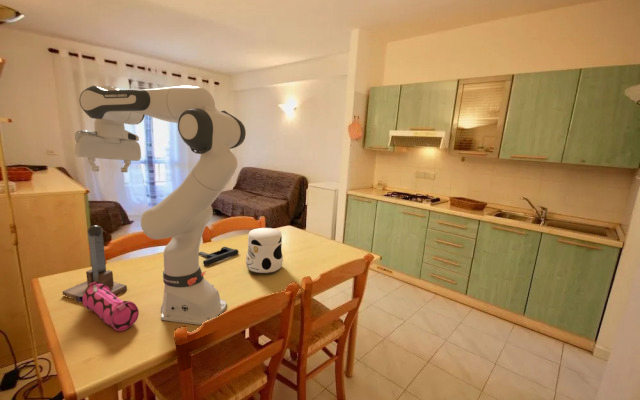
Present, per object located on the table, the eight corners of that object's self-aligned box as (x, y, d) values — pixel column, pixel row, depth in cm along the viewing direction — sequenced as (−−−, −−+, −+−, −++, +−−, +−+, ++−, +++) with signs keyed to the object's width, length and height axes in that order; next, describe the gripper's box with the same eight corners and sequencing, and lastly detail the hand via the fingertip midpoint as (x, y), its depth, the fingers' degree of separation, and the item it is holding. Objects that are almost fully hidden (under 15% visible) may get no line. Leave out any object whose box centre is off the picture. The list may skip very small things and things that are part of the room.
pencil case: (77, 314, 96) (74, 287, 94) (110, 301, 104) (107, 276, 102) (111, 339, 86) (108, 309, 84) (144, 322, 94) (142, 294, 92)
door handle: (187, 254, 143) (207, 261, 135) (221, 243, 160) (241, 249, 151) (188, 260, 144) (208, 268, 135) (221, 249, 160) (241, 255, 152)
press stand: (126, 289, 112) (125, 271, 110) (95, 306, 101) (92, 285, 99) (96, 281, 117) (94, 263, 115) (63, 296, 105) (60, 276, 104)
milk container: (237, 270, 134) (238, 233, 130) (261, 258, 149) (262, 225, 145) (267, 280, 126) (268, 242, 123) (289, 266, 141) (291, 231, 138)
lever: (110, 278, 111) (105, 224, 107) (98, 283, 107) (92, 228, 102) (101, 276, 112) (96, 223, 108) (89, 281, 108) (83, 226, 104)
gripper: (79, 128, 94) (80, 170, 95) (143, 137, 112) (143, 173, 113) (70, 129, 97) (71, 170, 98) (133, 137, 115) (134, 172, 116)
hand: (110, 171), depth 105 cm, fingers open, 8 cm apart
